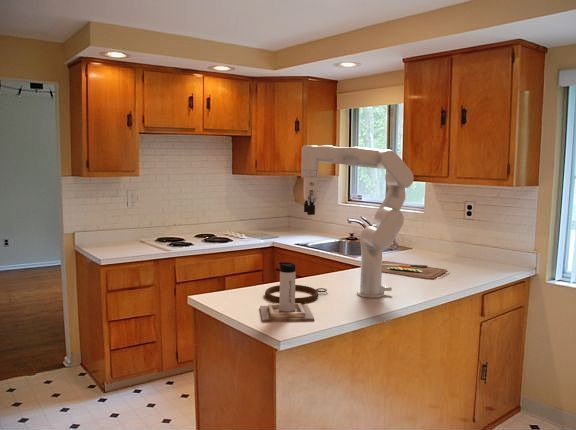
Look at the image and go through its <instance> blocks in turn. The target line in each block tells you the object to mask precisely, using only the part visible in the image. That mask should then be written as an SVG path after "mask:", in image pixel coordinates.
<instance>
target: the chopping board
mask: <svg viewBox="0 0 576 430" xmlns="http://www.w3.org/2000/svg"><path fill="white" fill-rule="evenodd" d="M383 273H384V274H390V275H396V276H403V277H410V278H415V279H416V278H417V279H422V280H435V279H439V280H441V279H443V278H445V277H446V276H448V275H450V274H451V272H448V269H445V268H439V267H432V266H428V265H427V264H425V265H424V264H423V265H422V264H410V263H403V262H395V261H390V260H389V261H388V260H382V274H383Z"/></svg>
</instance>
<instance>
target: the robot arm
mask: <svg viewBox="0 0 576 430" xmlns="http://www.w3.org/2000/svg"><path fill="white" fill-rule="evenodd" d="M320 163H324V164H338V165H343V166H344V165H346V166H350V167H359V168H360V167H361V168H371V169H381V170H382V169H383V170H386V173H385V177H384V178H385V179H384V180H385V183H386V186H387V193H386V196H385V197H384V199H383V201H382V203H381V204H380V205H379V207H378V209H377V210H376V213H375V214H374V222H375V224H376V225H378V227H377V226H372V225H371V226H370V225H369V226H366V227H365V228H363V229H362V231H361V232H360V236H359V243H360V250H361V251H360V253H361V255H360V257H361V258H360V287H359V288H360V289H357V290H356V295H358V297H363V298H368V299H376V298H377V299H378V298H382V297H384V296H385V292H392V288H393V287H392V286H387V285H382V279H383V278H382V275H383V273H382V261H383V251H385V250H388V249H389V248H390V246H392V243H393V242H394V241H395V239H396V237H397V236H398V235H399V233H400V231H401V229H402V227H403V225H404V221H405V217H404V213H403V212H402V211H401V209H402V207H403V205H404V203H405V200H406V189H407V188H409V187H411V186H412V185H413V183H414V179H415V178H414V177H415V176H414V175H413V172H412V170H411V169H410V168H409V167H408V165H407V164H406V163H405V162H404V161H403V159H402V158H401V157H400V156H399V154H398V153H397V152H395V151H394V150H392V149H381V148H380V149H378V148H369V147H359V146H351V147H349V146H348V147H347V146H346V147H342V146H341V147H339V146H333V145H328V144H327V145H312V144H311V145H309V144H308V145H303V146H302V148H301V165H300V167H301V170H300V171H301V175H300V176H301V178H303V199H304V203H303V212H304V213H307V215H308V216H312V215H313V216H315V214H316V201H318V178H319V176H320V175H319V174H320V169H319V168H320Z"/></svg>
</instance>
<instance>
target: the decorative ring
mask: <svg viewBox="0 0 576 430" xmlns="http://www.w3.org/2000/svg"><path fill="white" fill-rule="evenodd" d="M297 290H298V292H305V291H306V293H309V292H310V293H309V294H311V293H312V294H311V295H310V296H304V297H295V303H301V305H304V304H308V303H311V302H314V301H317V300H318V298H319V296H325V295H328V292H327V291H328V289H327V288H323V287H320V288H314V287H311V286H307V285H302V284H295V291H297ZM275 292H280V284H278V285H273V286H271V287H268V288H267V289H265V291H264V297H265V298H266V299H267V300H268V301H270V302H273V303H276V304H279V299H280V296H277V295H274V294H273V295H272V293H275ZM325 292H326V293H325ZM320 293H323V294H320Z"/></svg>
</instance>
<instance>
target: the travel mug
mask: <svg viewBox="0 0 576 430" xmlns="http://www.w3.org/2000/svg"><path fill="white" fill-rule="evenodd" d="M278 264H279V285H280V291H279V297H280V299H279V303H278V304H279V307H280V308H279V312H280V313H284V312H295V298H296V290H295V285H296V275H297V274H296V264H294V263H292V262H286V261H280V262H278Z"/></svg>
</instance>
